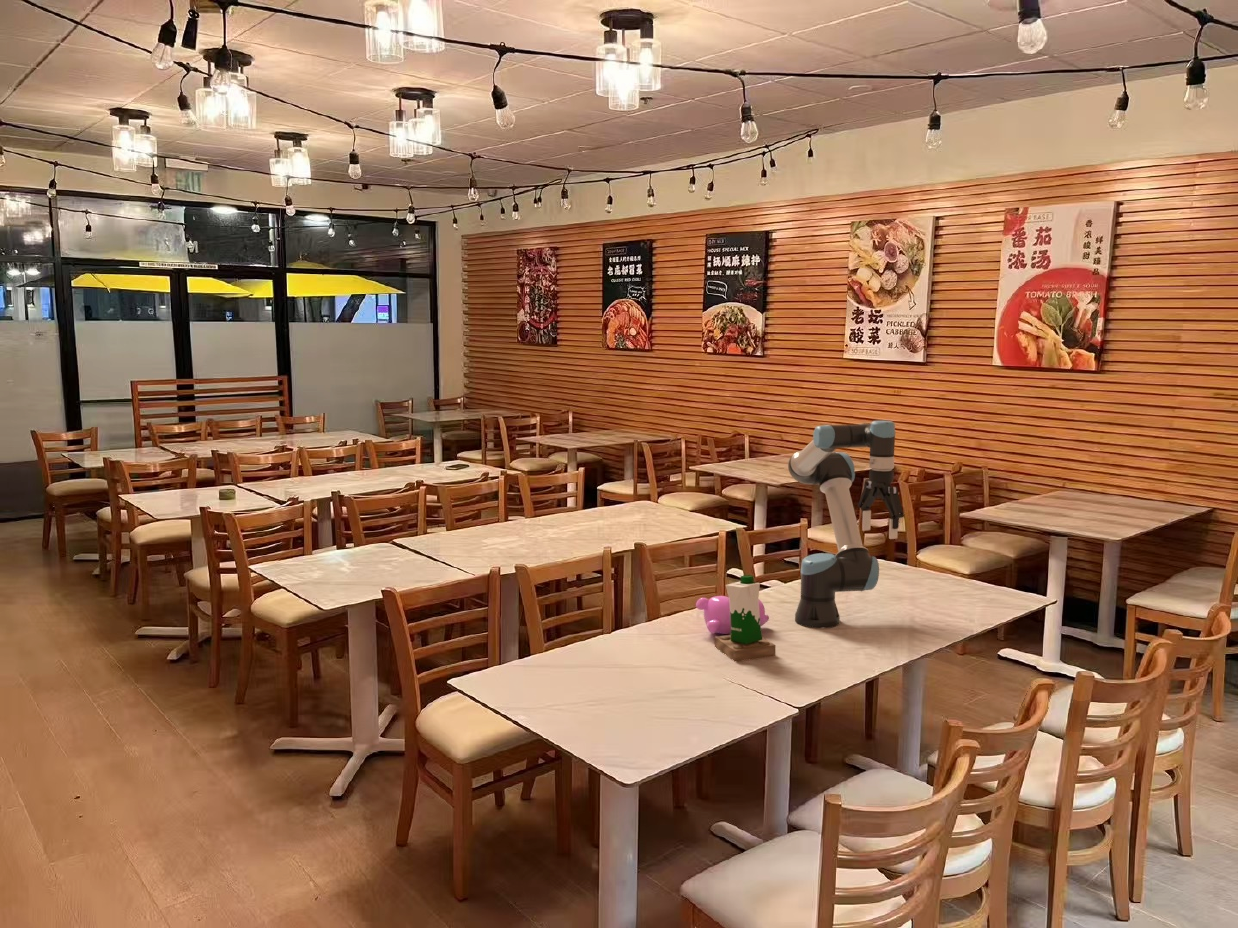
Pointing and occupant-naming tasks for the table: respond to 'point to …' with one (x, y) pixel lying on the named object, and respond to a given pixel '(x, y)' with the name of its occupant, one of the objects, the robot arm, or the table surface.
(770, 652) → the base brick
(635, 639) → the table surface
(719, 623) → the toy character
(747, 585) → the soya milk
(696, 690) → the table surface
